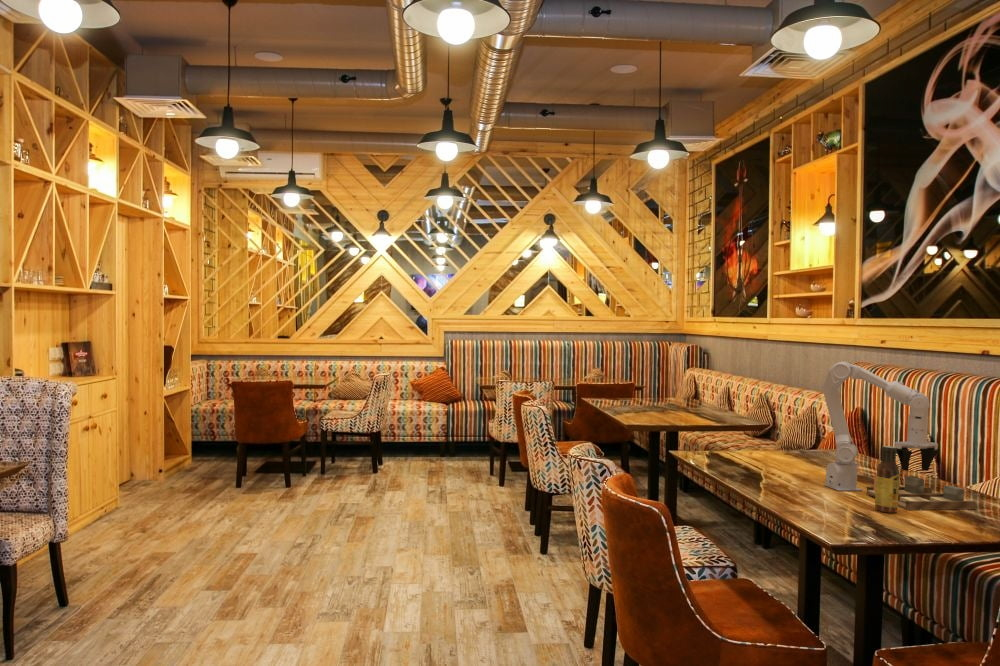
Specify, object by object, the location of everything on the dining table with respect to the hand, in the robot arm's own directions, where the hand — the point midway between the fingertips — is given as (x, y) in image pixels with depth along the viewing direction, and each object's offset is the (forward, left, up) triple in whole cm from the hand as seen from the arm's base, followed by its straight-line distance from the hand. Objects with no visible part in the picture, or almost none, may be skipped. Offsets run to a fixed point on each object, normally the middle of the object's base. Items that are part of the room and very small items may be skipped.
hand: (914, 470), depth 238 cm
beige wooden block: (-6, 0, -9) cm, 11 cm away
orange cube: (-11, 0, -8) cm, 13 cm away
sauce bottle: (-22, -15, -10) cm, 28 cm away
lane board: (-2, -5, -9) cm, 11 cm away
